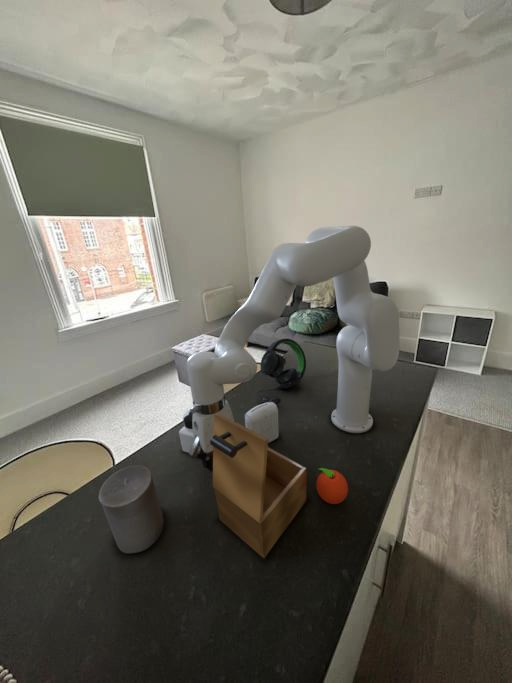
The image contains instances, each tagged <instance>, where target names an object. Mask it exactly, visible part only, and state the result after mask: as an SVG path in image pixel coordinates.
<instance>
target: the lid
mask: <svg viewBox="0 0 512 683" xmlns="http://www.w3.org/2000/svg"><path fill="white" fill-rule="evenodd" d="M233 420H234V419H233ZM233 420H231V419H229V418H227V417H225V416H223V415H221V414H219V413H215V414H214V436H213V437H212V438H211V440H210V444H211V445H212V446H213V470H212V488H215V489H216V490H218V491H219V492H220V493H222V494H223V495H224V496H225V497H227V498H228V499H229V500H231V501H232V502H233V503H234V504H236V505H237V506H238V507H239V508H241V509H242V510H243V511H245V512H246V513H247V514H248V515H250V516H251V517H252V518H254V519H255V520H256V521H257V522H259V523H260V522H261V521H262V516H263V502H264V489H265V476H266V463H267V450H268V447H269V443H268V439H267V438H265V437H263V436H261V435H259V434H257V433H256V432H254V431H252V430H250V429H248V428H246V426H245V425H242V424H240V423H238V422H237V421H236V420H235V421H236V422H237V423H236V422H235V421H233ZM215 489H214V490H215Z"/></svg>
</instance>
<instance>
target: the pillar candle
mask: <svg viewBox="0 0 512 683" xmlns="http://www.w3.org/2000/svg"><path fill="white" fill-rule="evenodd" d="M98 493H99V494H98V500H99V503H100V504H101V506H102V509H103V512H104V515H105V517H106V519H107V524H108V525H109V528H110V531H111V534H112V535H113V538H114V540H115V543H116V546H117V548H118V550H120V552H122V553H124V554H136V553H140V552H143V551H146V550H147V549H149V548H150V547H152V545H154V544H155V543H156V542H157V540H158V539H159V538H160V535H161V534H162V532H163V529H164V525H165V524H164V523H165V520H164V514H163V511H162V507H161V505H160V504H161V503H160V500H159V497H158V493H157V490H156V486H155V483H154V478H153V475H152V473H151V471H150V470H149V468H148V467H146V466H144V465H138V464H137V465H136V464H135V465H129V466H125V467H123V468H120V469H119V470H116V471H115V472H113V473H112V474H111V475H109V477H108V478H106V479H105V481H104V482H103V483H102V485H101V487H100V490H99V492H98Z"/></svg>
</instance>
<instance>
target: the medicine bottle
mask: <svg viewBox="0 0 512 683" xmlns="http://www.w3.org/2000/svg"><path fill="white" fill-rule="evenodd" d="M192 418H193V414H192V413H191V411H190V409H187V410H186V411H185V412H184V413H183V414H182V420H183V427H181V429H180V430H179V431H178V436H179V441H180V445H181V450H182V452H185V453H187V454H189V452H190V450H191V448H192V446H193V443H194V436H193V426H192ZM199 450H200V447H199V449H198V451H199Z"/></svg>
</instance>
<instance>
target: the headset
mask: <svg viewBox="0 0 512 683" xmlns="http://www.w3.org/2000/svg"><path fill="white" fill-rule="evenodd" d="M281 344H283V345H287V346H289V347H290V349H292V350H293V352H294V353H295V355H296V357H297V362H298V364H297V365H298V367H297V369H296V368H294V367H291V368H286V369H284V368H285V365H286V363H287V362H286V361H287V359H286V358H285V357H284V356H283V355H281V354H279V353H277V352H276V351H275V350H276V349H277V347H279V346H280V345H281ZM306 360H307V358H306V354H305V352H304V350H303V348H302V347H301V345H300V344H299V343H298V342H297V341H295V340H294V339H292V338H281V339H278V340H276V341H273V342H272V343H271V344H270V345H269V347H268V348H267V349H266V350H265V353H264V354H263V355H262V358H261V361H260V371H261V373H262V375H265V376H268V377H270V378H272V379H274V380H275V382H276V386H277V387H276V388H273V389H264V390H263V389H262V390H259V391H257V393H256V395H257V397H260V398H262V399H261V400H260V401H259V403H260V404H263V403H268V402H273V403H274V404H276V406H277V404H280V403H281V397H277V396H275V397H271V398H268V397H267V396H266V395H263V396H261V395H259V393H261V392H271V391H276V390H282V389H284V390H290V389H293V388H294V387H296V386H297V384H299V383H301V381H302V379H303V378H304V375H305V372H306V368H307V361H306ZM277 407H278V406H277Z"/></svg>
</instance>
